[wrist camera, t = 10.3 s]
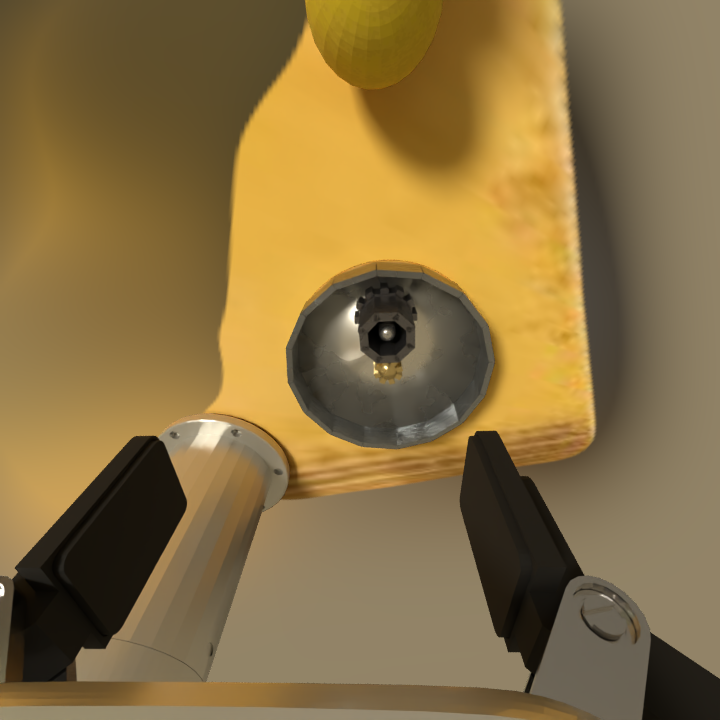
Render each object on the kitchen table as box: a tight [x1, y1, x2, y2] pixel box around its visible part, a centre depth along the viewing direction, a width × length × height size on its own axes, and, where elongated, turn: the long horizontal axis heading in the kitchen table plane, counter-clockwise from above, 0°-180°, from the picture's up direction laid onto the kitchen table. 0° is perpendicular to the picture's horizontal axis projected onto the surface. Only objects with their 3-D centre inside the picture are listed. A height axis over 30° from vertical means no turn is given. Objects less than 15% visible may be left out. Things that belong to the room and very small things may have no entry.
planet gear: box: [354, 283, 417, 364], centre depth 21 cm, size 4×4×4 cm
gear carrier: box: [286, 260, 495, 449], centre depth 24 cm, size 14×14×5 cm
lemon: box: [305, 0, 443, 90], centre depth 14 cm, size 6×6×8 cm
